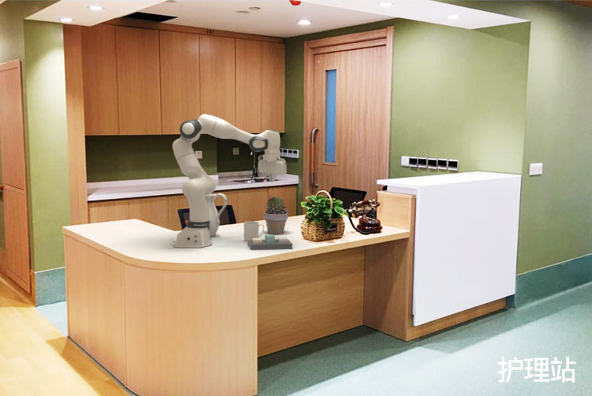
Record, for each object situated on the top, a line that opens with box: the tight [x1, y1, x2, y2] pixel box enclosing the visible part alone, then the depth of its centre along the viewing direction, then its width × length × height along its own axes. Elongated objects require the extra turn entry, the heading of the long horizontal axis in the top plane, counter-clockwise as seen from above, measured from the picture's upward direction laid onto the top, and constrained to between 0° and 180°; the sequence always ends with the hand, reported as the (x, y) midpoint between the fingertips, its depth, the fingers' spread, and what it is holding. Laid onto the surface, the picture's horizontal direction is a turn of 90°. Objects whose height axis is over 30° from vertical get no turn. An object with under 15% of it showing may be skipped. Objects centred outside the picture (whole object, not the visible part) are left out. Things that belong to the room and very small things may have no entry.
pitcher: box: [204, 192, 228, 238], centre depth 368 cm, size 24×17×28 cm
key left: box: [252, 237, 263, 243], centre depth 342 cm, size 5×5×4 cm
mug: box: [243, 220, 265, 242], centre depth 359 cm, size 12×9×11 cm
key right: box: [277, 236, 289, 243], centre depth 345 cm, size 5×5×4 cm
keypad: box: [247, 238, 293, 251], centre depth 344 cm, size 24×13×3 cm, turn 103°
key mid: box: [264, 234, 276, 243], centre depth 343 cm, size 5×5×4 cm
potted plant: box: [263, 195, 289, 235], centre depth 384 cm, size 18×20×25 cm
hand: (272, 181), depth 348 cm, fingers closed
